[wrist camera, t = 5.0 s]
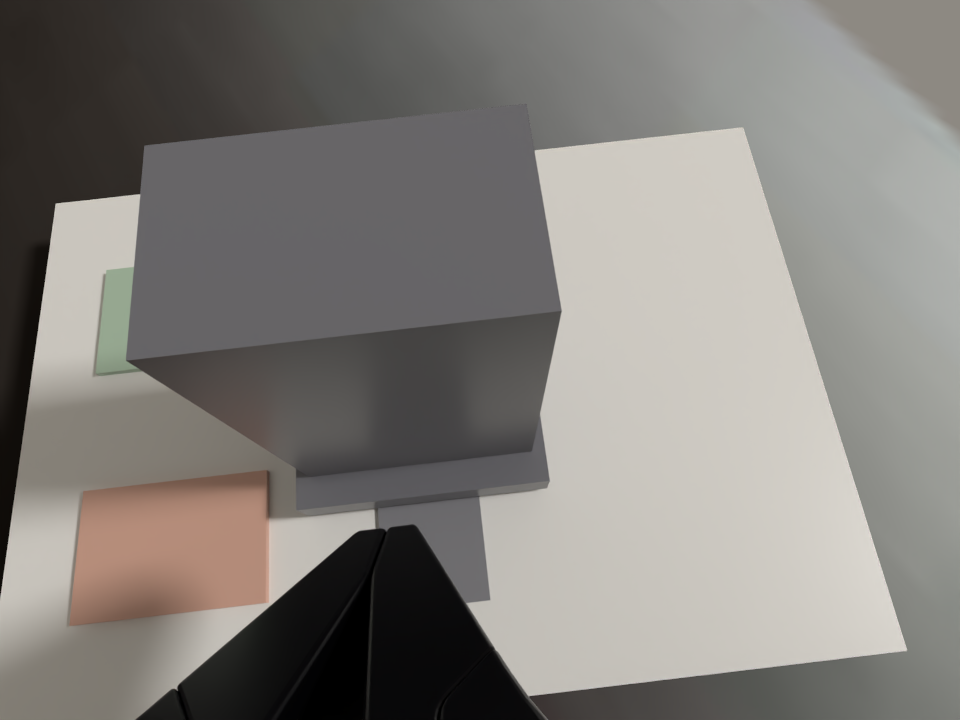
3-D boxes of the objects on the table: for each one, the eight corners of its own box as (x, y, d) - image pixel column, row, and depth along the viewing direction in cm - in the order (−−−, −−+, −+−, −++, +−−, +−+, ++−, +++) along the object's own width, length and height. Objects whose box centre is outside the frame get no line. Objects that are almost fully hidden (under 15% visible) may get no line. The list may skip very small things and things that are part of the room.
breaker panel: (858, 644, 16) (913, 651, 14) (40, 742, 16) (-31, 764, 13) (721, 170, 21) (745, 122, 19) (96, 240, 20) (51, 200, 18)
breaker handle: (546, 487, 15) (598, 365, 7) (308, 516, 15) (93, 423, 7) (521, 317, 17) (541, 60, 9) (306, 342, 17) (126, 105, 9)
